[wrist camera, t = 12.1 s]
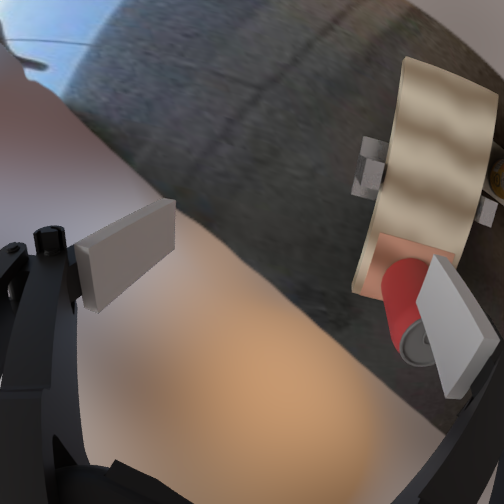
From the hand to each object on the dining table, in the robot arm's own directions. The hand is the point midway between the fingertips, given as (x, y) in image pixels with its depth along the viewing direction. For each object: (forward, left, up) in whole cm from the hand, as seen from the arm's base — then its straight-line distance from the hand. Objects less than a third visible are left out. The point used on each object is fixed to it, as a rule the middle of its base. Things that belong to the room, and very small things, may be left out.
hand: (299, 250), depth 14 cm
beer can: (+8, +13, -20) cm, 25 cm away
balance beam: (-3, +13, -22) cm, 25 cm away
